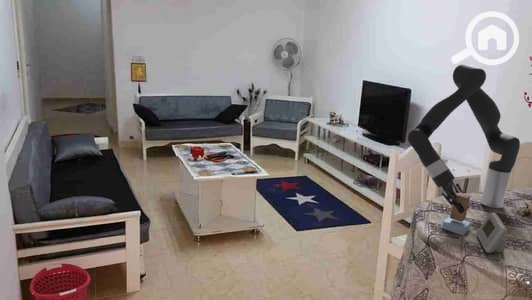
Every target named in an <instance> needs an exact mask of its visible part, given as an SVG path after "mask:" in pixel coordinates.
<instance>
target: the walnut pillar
mask: <svg viewBox="0 0 532 300" xmlns="http://www.w3.org/2000/svg"><path fill="white" fill-rule="evenodd" d="M457 198H458V200H459V202H460V203H461V205H462V206H463V208H464V209H465V212H463V213H459V211H458V210H457V208H456V207H455V205H451V211H450V215H449V217H450V218H451V219H454V220H457V221H460V222H462V221H463V220H465V219H466V218H467V213H468V209H469V208H468V206H469V204H470V200H471V194H467V193H464V192H463V193H459V192H458V193H457ZM465 221H466V220H465Z"/></svg>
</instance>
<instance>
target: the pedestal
mask: <svg viewBox="0 0 532 300" xmlns="http://www.w3.org/2000/svg"><path fill="white" fill-rule="evenodd" d="M471 223H472V222H471V221H468V220H463V221H462V222H460V221H457V220H454V219H451V218H450V216H448V217H447V218H446V219H444V221H443V222H442V226H441V228H442V229H443V230H447V231H449V232H452V233H454V234H458V235H461V236H464V235H465V234H466V233H468V231H469V230H470V229H471V228H470V227H471Z"/></svg>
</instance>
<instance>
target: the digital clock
mask: <svg viewBox="0 0 532 300" xmlns="http://www.w3.org/2000/svg"><path fill="white" fill-rule="evenodd" d="M507 234H508V229H507V227H506V226H505V224H504V223H503V221H502V219H501V218H500V217H499V216H498V214H497V213H496V212H490V213H489V215H487V217H486V219H485V220H484V221H483V223H482V224H481V225H480V227H479V228H478V230H477V231H476V236H477V237H478V239H479V241H480V243H481V245H482V247H483V249H484V251H485V252H486V253H487V254H492V253H494V252H497V253H504V252H505V249H506V245H507V242H506V240H505V238H504V237H506V235H507Z"/></svg>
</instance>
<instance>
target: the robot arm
mask: <svg viewBox="0 0 532 300" xmlns="http://www.w3.org/2000/svg"><path fill="white" fill-rule="evenodd" d="M486 79H487V74H486V71H485V70H484V68H481V67H478V66H475V65H471V64H468V63H467V64H466V63H462V64H459V65H458V66H455V68H454V70H453V72H452V80H453V83H454V84H455V86H456V87H457V90H455V92H453V93H452V94H450V95H449V96H447V97H445V98H443V99H441V100H440V101H438V102H437V103H436V104H434V105H433V106H432V107H431V108H430V109H429V110H427V111H428V112H426V114H425V115H424V116H423V117H422V119H421V121H420V122H419V123H418V125H416V127H415V128H414V129H411V130H410V131H409V133H408V134H407V143H408V144H409V146H411V147H412V148H413V150H414V151H415V153H416V154H417V156H418V158H419V160H420V162H421V163H422V165H423V166H424V168H425V171H426V172H427V173H428V175H429V177H430V178H431V180H432V181H433V182H434V184H435V185H436V187H437V188H442V190H443V192H441V196H443V198H444V199H445V200H446V201H447V203H448V204H449V205H450V206H453V205H455V207H456V208H457V210H458V211H459V213H463V212H465V209H464V208H463V206H462V205H461V203H460V202H459V200H458V198H457V193H458V192H459V193H464V191H463V189H462V187H461V186H460V184H459V183H455V182H454V181H453V180H455V178H456V177H455V176H454V174H453V173H452V171H451V170H450V168H449V166H447V164H446V162H445V161H444V160H443V159H442V158H441V156H440V155H439V153H438V151H437V150H436V149H435V148H434V146H433V145H432V143H431V141H430V139H429V138H430V137H431V136H432V134H433V133H434V132H435V131H436V130H437V129H438V128H439V127H440V126H441V125H442V124H443V122H444V121H446V119H447V118H448V117H449V116H450V115H451V114H452V113H453V112H454V111H455V110H456V109H458V107H460V106H461V105H462V104H463V103H465V102H467V104H468V106H469V108H470V110H471V112H472V113H473V116H474V117H475V120H476V121H477V123H478V124H479V127H481V129H482V132H483V134H484V135H485V136H484V137H485V139H486V142H487V144H488V147H489V149H490V150H491V151H492V152H493V153H495V154H498V155H500V156H501V157H500V159H499V160H498V159H497V160H491V161H489V163H488V168H487V171H486V176H485V182H484V186H483V191H482V195H481V199H480V203H481V204H482V205H484V206H486V207H488V208H492V209H502V208H503V207H504V203H505V198H506V196H507V195H506V194H507V190H508V186H509V182H510V178H511V174H512V170H513V168H514V167H515V163H516V160H517V157H518V155H519V151H520V146H521V143H520V139H519V138H518V137H516V136H513V135H509V134H506V133H503V132H502V131H501V129H500V128H499V126H498V125H499V123H500V121H501V112H500V109H499V107H498V105H497V104H496V102H495V101H494V100H493V98H491V97H490V95H488V94H487V92H485V90H483V89H482V86H483V85H484V84H485V82H486ZM468 209H470V206H469V205H468Z"/></svg>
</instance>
